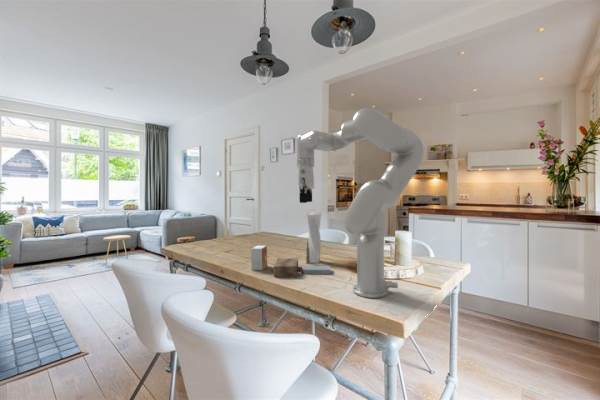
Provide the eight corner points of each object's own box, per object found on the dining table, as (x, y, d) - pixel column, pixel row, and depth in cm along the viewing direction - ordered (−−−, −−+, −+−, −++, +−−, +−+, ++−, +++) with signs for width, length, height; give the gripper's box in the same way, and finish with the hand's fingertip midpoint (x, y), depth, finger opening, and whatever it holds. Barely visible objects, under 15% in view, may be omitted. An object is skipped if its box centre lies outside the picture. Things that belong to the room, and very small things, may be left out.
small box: (262, 270, 128) (261, 248, 128) (251, 270, 130) (250, 248, 129) (267, 266, 136) (267, 245, 136) (257, 265, 137) (256, 245, 137)
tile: (329, 271, 127) (329, 266, 127) (330, 275, 122) (330, 269, 121) (304, 270, 128) (304, 265, 128) (303, 274, 122) (303, 269, 122)
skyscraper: (306, 260, 148) (306, 209, 148) (321, 259, 148) (320, 208, 147) (306, 264, 140) (305, 210, 139) (321, 264, 139) (321, 210, 139)
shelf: (302, 267, 132) (302, 258, 132) (301, 276, 118) (301, 266, 118) (277, 267, 133) (277, 258, 132) (274, 276, 119) (273, 266, 118)
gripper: (309, 160, 109) (310, 203, 110) (318, 164, 126) (318, 201, 127) (291, 161, 111) (292, 203, 112) (302, 165, 128) (302, 201, 129)
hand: (306, 202), depth 119 cm, fingers open, 9 cm apart
